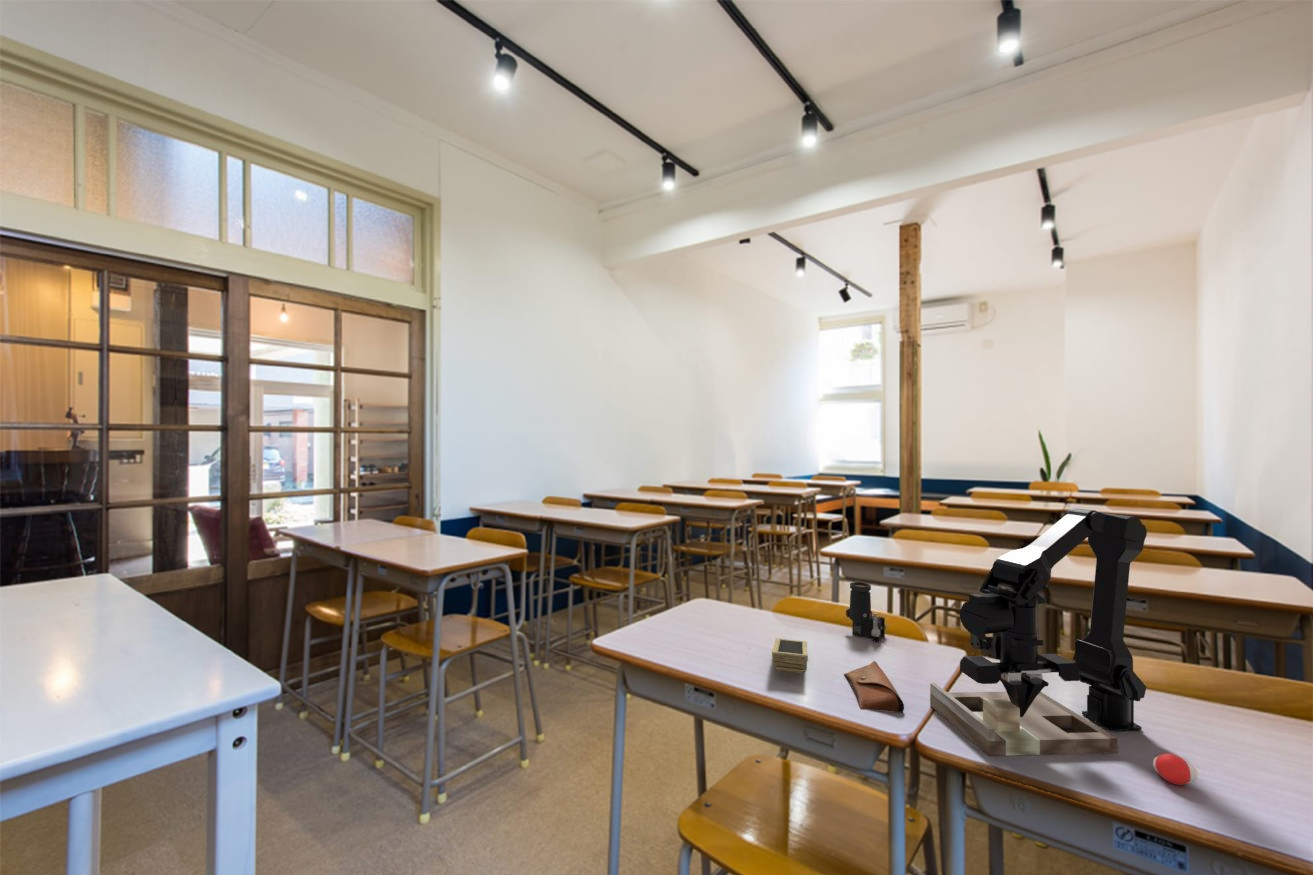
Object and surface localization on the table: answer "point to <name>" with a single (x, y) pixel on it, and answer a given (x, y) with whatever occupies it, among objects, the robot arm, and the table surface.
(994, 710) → the block
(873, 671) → the sunglasses case
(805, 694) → the table surface
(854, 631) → the scope
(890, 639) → the table surface
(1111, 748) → the trap box
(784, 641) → the box
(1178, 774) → the molecule
